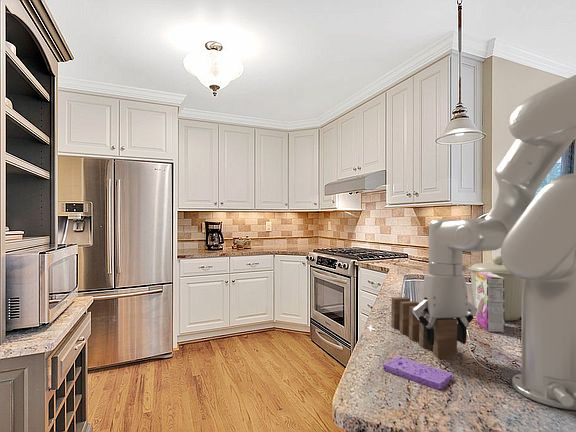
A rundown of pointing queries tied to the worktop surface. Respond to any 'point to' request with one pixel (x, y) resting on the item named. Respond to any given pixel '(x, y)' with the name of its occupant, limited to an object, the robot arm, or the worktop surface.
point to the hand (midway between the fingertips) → (444, 342)
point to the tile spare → (445, 337)
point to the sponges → (418, 372)
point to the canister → (511, 286)
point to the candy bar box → (490, 301)
